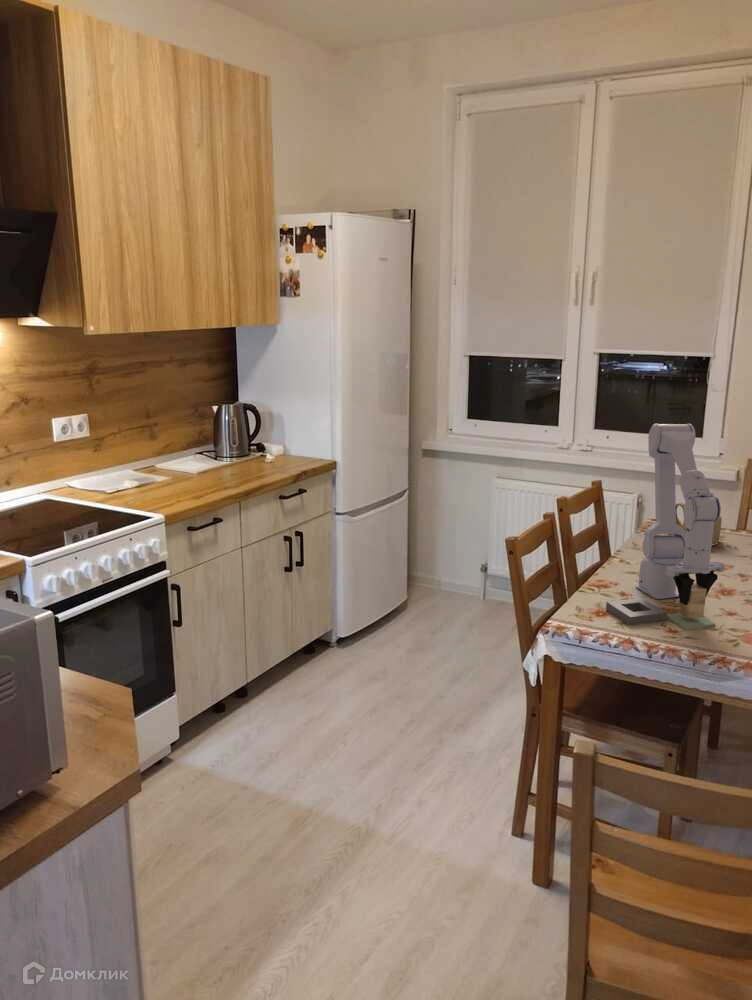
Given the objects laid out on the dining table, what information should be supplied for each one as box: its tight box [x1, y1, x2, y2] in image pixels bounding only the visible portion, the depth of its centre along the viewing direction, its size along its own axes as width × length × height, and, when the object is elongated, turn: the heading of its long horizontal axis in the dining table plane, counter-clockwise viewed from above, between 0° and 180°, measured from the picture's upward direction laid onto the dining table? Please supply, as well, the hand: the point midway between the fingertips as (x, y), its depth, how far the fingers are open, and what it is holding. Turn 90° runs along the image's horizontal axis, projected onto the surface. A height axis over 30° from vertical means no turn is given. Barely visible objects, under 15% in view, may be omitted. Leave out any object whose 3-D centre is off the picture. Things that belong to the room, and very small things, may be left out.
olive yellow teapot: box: [676, 502, 723, 544], centre depth 247 cm, size 15×11×15 cm
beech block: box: [677, 582, 707, 619], centre depth 183 cm, size 4×4×7 cm
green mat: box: [666, 612, 716, 631], centre depth 184 cm, size 8×8×1 cm
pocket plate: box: [605, 597, 668, 626], centre depth 188 cm, size 10×10×2 cm
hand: (691, 602), depth 183 cm, fingers closed on beech block, 4 cm apart
